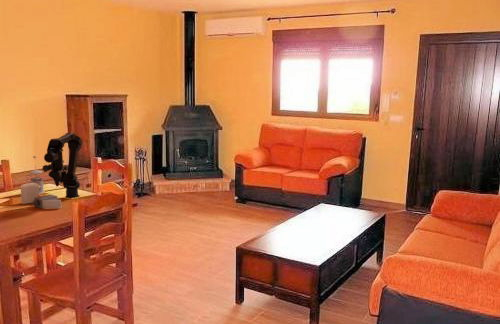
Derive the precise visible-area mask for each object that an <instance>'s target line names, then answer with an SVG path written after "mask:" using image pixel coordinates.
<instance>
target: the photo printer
mask: <svg viewBox="0 0 500 324" xmlns="http://www.w3.org/2000/svg"><path fill="white" fill-rule="evenodd" d="M39 186H40V185H38V184H37V183H30V182H29V183H28V182H26V183H24V184H21V186H20V201H21V204H22V205H25V204H26V205H27V204H33V201H34V198H35V197H38V196H40V195H41V194H39Z"/></svg>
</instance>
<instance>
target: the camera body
mask: <svg viewBox="0 0 500 324" xmlns="http://www.w3.org/2000/svg"><path fill="white" fill-rule="evenodd" d="M42 200H59V199H58V196H57V195H54V194H46V195H45V194H44V195H41V196H38V197H35V198H34V201H33V203H32V204H33V206H34V207H35V208H39V209H42V210H44V209H43V207H42Z"/></svg>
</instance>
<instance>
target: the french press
mask: <svg viewBox="0 0 500 324" xmlns="http://www.w3.org/2000/svg"><path fill="white" fill-rule="evenodd" d="M32 158H34V159H36V158H37V156H36V155H33V156H32ZM34 165H35V166H34V167H35V169H34V170H31V171H30V172H29V174H28V175H27V176H26V177H25V179H26V180H25V181H26V183H37V184H38V185H39V194H40V195H41V194H44V193H46V191H45V189H44V180H43V178H42V177H38V176H35V177H32V175H40V174H43V170H42V171H41V170H38V169H37V167H36V164H34ZM29 177H31V178H30V181H29V180H28V178H29Z"/></svg>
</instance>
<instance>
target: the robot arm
mask: <svg viewBox="0 0 500 324" xmlns="http://www.w3.org/2000/svg"><path fill="white" fill-rule="evenodd" d="M47 144H48V145H47V149H46V153H45V154H44V156H43V159H44V161H45V162H46V163H48V164H44V165H43V166H42V171H44V173H47V172H48V177H50V178H52V180H53V181H54V184H55V186H56V187H60V186H59V185H60V184H62V186H63V188H64V189H65V194H66V195H65V198H69V199H74V198H78V197H80V195H79V190H78V189H80V186H81V183H80V181H79V180H78V176H77V174H76V171H77V164H78V162H77V161H78V156H79V155H78V154H79V151H80V150H81V149H82V145H83V140H82V138H81V137H80V136H78V135H76V134H75V133H74V132H65V133H64V134H63V135H61V136H60V137H57V138H51V139H50V140H49V141H48V143H47ZM66 144H67V147H68V149H69V156H68V164H67V165H64V163H65V160H64V158H63V157H64V156H63V152H64V149H63V148H64V147H65V145H66Z"/></svg>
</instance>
